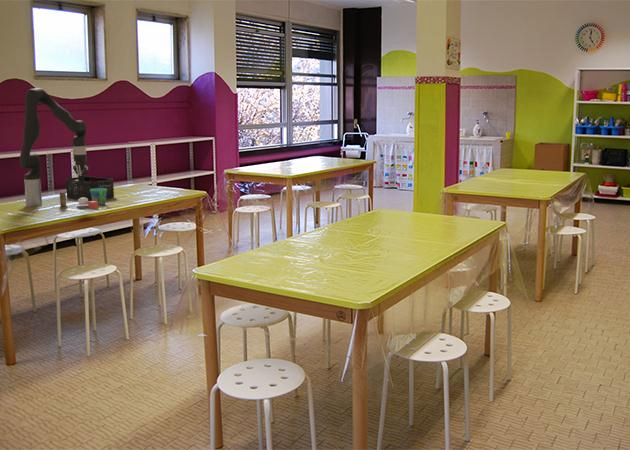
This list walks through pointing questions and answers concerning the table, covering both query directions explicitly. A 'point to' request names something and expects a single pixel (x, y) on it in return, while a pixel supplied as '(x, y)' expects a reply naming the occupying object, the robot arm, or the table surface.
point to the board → (86, 206)
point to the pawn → (63, 200)
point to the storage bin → (88, 187)
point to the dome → (83, 201)
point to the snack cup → (99, 195)
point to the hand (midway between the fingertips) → (81, 181)
